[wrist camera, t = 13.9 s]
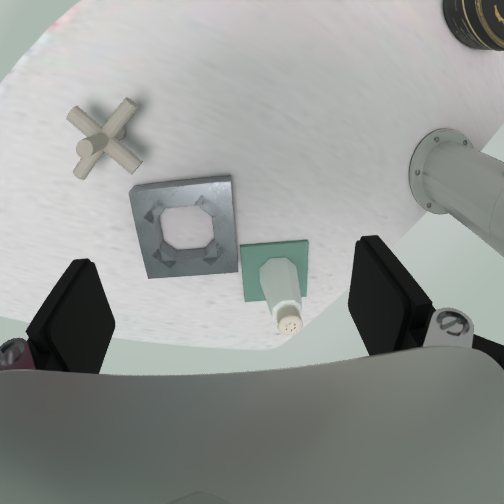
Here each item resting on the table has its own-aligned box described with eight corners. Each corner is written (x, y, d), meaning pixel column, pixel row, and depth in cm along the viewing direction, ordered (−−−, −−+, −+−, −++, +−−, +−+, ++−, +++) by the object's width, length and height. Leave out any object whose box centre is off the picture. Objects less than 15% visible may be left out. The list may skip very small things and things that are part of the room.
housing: (230, 175, 38) (230, 181, 35) (237, 261, 43) (238, 272, 41) (134, 185, 37) (128, 192, 35) (152, 268, 43) (148, 278, 41)
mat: (307, 239, 42) (308, 241, 42) (305, 293, 47) (306, 296, 46) (240, 245, 42) (240, 247, 42) (244, 299, 47) (244, 302, 46)
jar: (478, 63, 30) (513, 66, 24) (430, 19, 28) (465, 13, 21) (494, 19, 26) (527, 18, 19) (449, -24, 24) (481, -34, 17)
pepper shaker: (252, 283, 45) (258, 338, 35) (267, 250, 42) (278, 302, 33) (287, 293, 46) (301, 347, 36) (303, 262, 43) (323, 314, 34)
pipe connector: (115, 76, 30) (78, 74, 22) (175, 126, 34) (156, 140, 25) (68, 140, 33) (26, 159, 25) (124, 187, 37) (95, 219, 28)
